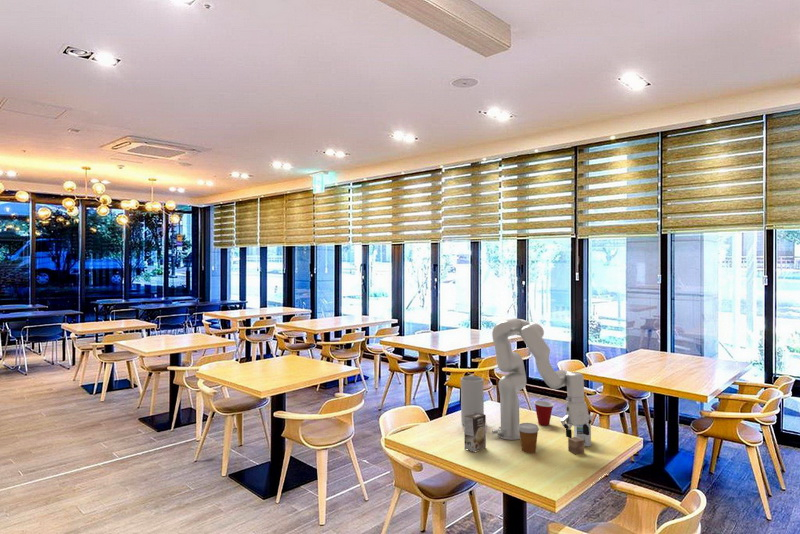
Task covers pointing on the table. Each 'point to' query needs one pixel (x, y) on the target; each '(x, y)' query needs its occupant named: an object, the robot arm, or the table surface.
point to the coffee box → (475, 431)
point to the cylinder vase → (471, 396)
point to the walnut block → (576, 445)
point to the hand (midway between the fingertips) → (577, 435)
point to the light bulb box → (579, 433)
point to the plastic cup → (543, 412)
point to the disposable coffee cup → (528, 437)
